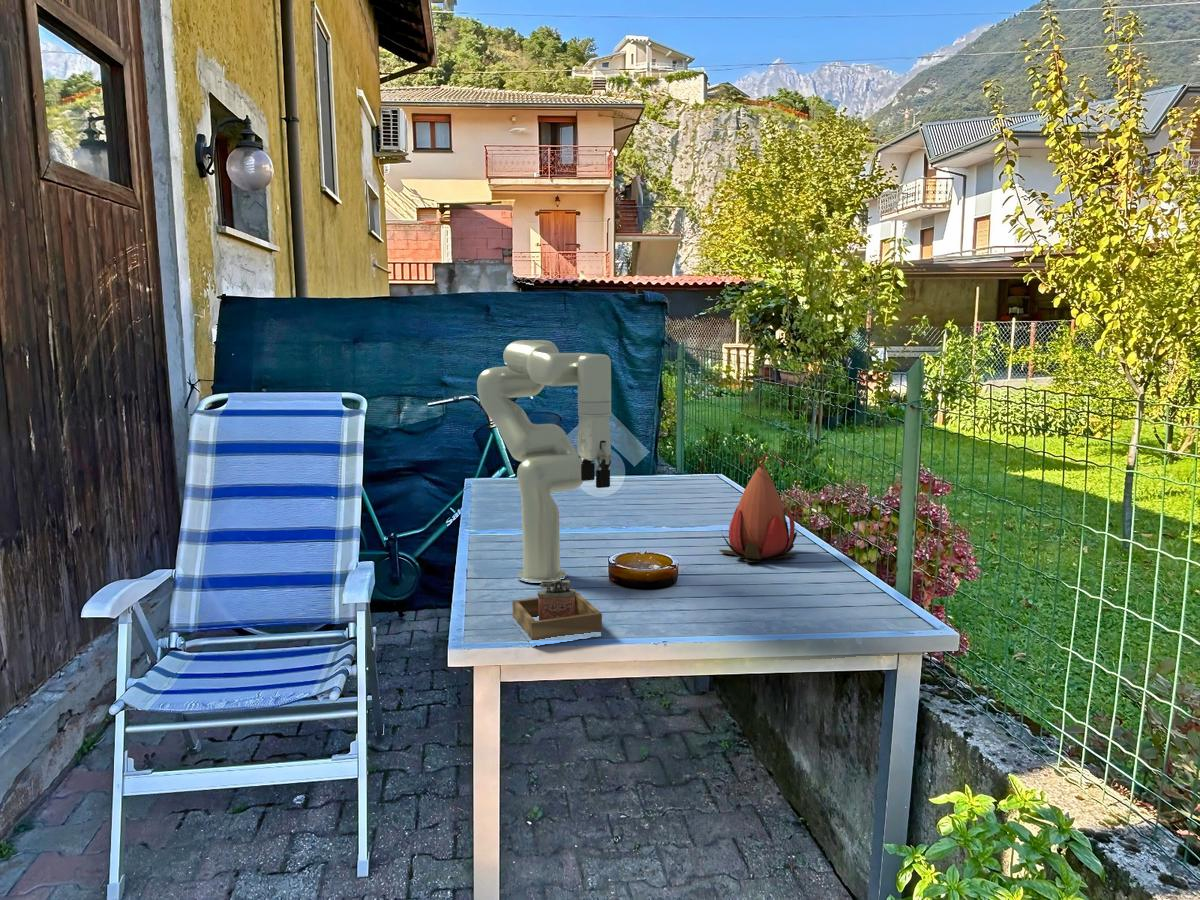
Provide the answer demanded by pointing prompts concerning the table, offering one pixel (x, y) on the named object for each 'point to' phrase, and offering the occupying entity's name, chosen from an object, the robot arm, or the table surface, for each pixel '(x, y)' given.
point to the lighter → (556, 600)
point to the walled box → (557, 619)
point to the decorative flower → (761, 521)
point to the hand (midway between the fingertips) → (595, 483)
